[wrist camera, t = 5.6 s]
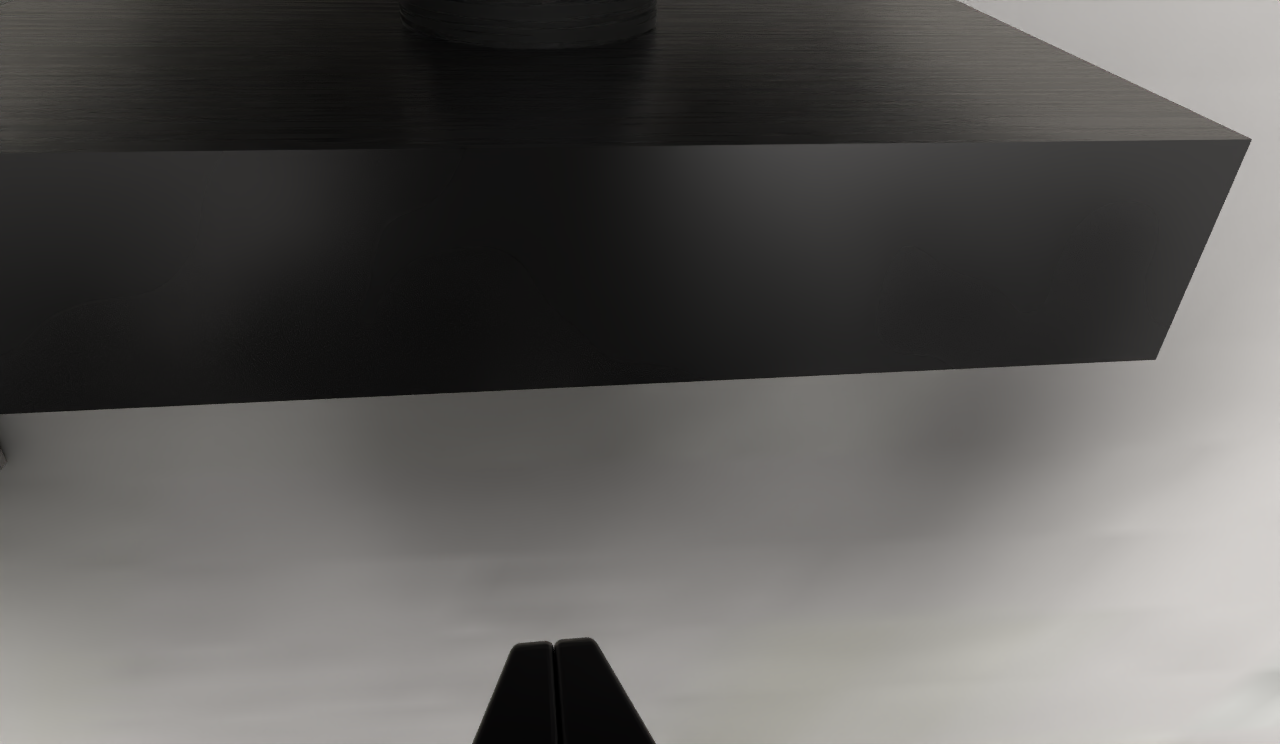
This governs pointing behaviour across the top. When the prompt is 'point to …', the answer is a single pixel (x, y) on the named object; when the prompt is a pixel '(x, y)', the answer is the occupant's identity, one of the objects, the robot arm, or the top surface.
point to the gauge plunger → (570, 197)
